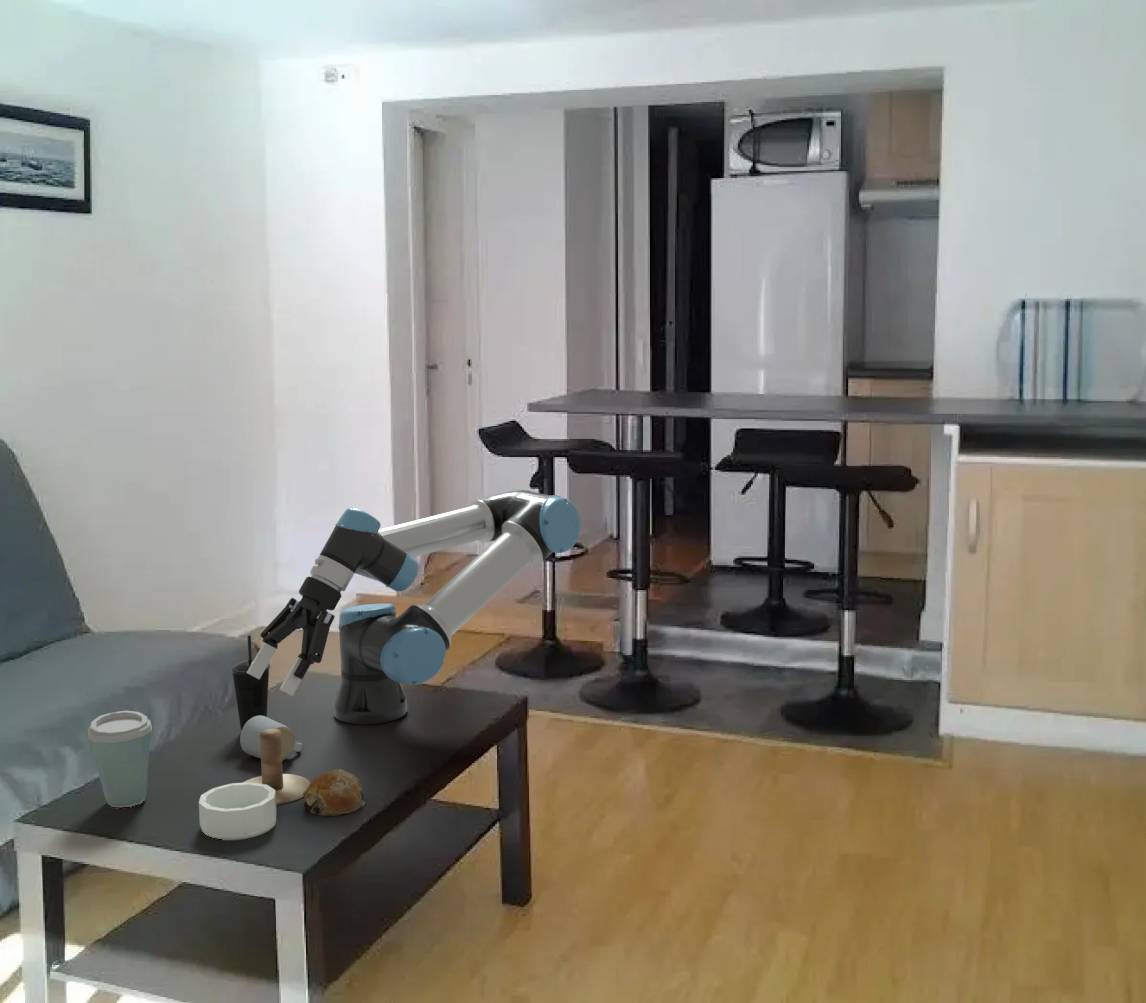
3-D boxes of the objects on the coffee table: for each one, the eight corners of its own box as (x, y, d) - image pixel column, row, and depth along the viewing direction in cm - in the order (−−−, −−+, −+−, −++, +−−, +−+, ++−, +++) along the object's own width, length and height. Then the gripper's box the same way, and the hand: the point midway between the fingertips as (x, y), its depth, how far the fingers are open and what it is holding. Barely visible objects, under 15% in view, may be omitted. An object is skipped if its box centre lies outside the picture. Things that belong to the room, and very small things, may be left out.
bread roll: (357, 835, 215) (376, 792, 214) (300, 817, 211) (319, 773, 211) (350, 813, 224) (368, 771, 224) (296, 795, 221) (314, 753, 221)
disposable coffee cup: (164, 805, 219) (159, 722, 216) (99, 819, 213) (93, 733, 210) (148, 786, 227) (143, 705, 225) (85, 799, 222) (79, 716, 219)
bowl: (256, 804, 218) (255, 777, 218) (288, 826, 209) (287, 798, 208) (189, 823, 211) (187, 794, 210) (219, 846, 202) (218, 817, 201)
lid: (289, 772, 234) (287, 715, 232) (323, 793, 224) (321, 733, 222) (222, 790, 226) (219, 730, 224) (255, 812, 216) (251, 750, 214)
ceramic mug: (267, 769, 235) (266, 729, 234) (239, 759, 240) (238, 720, 239) (311, 753, 244) (310, 715, 242) (284, 744, 249) (282, 706, 247)
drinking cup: (279, 727, 258) (275, 631, 255) (264, 739, 251) (259, 641, 248) (244, 725, 260) (239, 630, 256) (227, 737, 252) (222, 640, 249)
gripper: (280, 564, 248) (224, 661, 243) (343, 586, 229) (284, 691, 224) (309, 582, 253) (255, 677, 248) (373, 604, 233) (316, 708, 228)
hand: (268, 684), depth 236 cm, fingers open, 13 cm apart
